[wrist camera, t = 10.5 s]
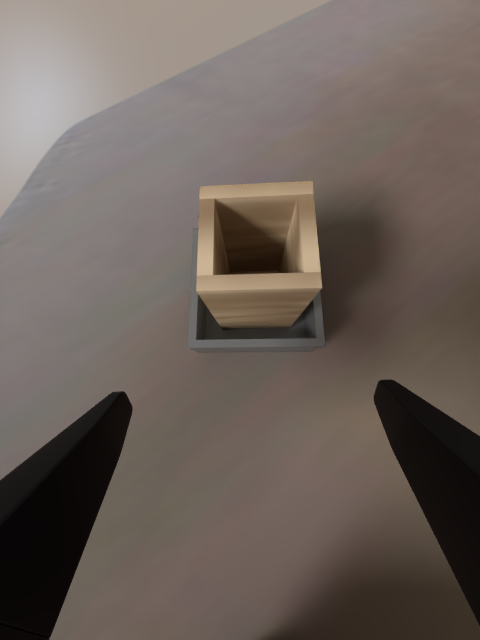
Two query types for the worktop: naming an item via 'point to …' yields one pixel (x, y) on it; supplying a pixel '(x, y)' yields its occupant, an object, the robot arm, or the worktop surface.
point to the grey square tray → (215, 339)
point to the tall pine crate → (257, 253)
